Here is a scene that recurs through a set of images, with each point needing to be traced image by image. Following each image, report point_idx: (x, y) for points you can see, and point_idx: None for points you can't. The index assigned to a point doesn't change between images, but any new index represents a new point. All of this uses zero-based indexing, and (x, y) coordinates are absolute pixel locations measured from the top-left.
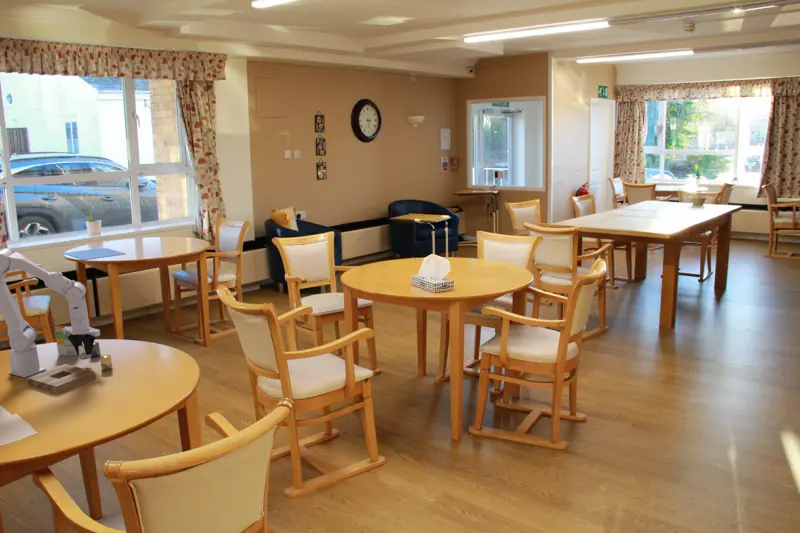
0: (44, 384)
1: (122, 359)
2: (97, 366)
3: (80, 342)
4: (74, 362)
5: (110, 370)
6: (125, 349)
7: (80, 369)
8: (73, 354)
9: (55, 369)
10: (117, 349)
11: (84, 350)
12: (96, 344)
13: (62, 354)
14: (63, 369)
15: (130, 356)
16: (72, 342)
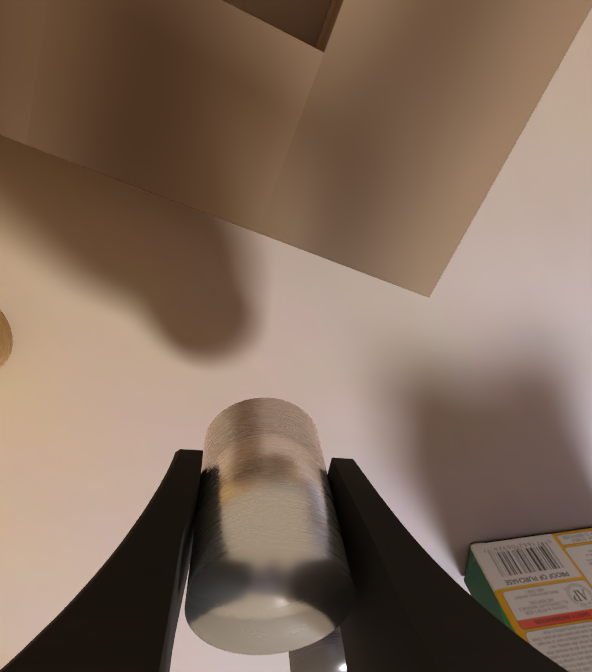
0: None
1: (32, 543)
2: (141, 395)
3: (354, 645)
4: (422, 443)
5: None
6: (171, 663)
7: (72, 115)
8: (498, 547)
9: (469, 93)
10: (231, 654)
11: (218, 499)
12: (295, 666)
13: (582, 536)
14: (347, 99)
15: (17, 592)
16: (448, 607)
